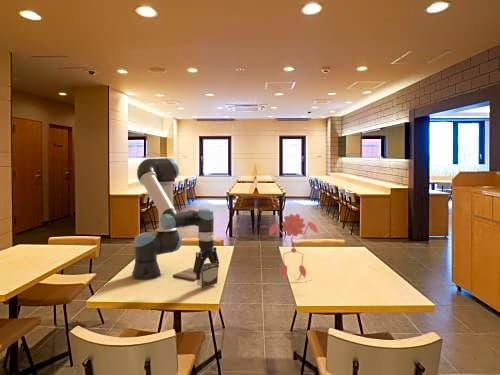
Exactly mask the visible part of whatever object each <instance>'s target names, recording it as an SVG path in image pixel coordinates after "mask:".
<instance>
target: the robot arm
mask: <svg viewBox="0 0 500 375" xmlns="http://www.w3.org/2000/svg"><path fill="white" fill-rule="evenodd" d="M177 163H178V162H176V160H175V159H173V158H169V157H167V158H166V157H164V158H163V157H162V158H161V157H160V158H159V157H158V158H147V159H146V158H145V159H144V160H142V161H141V162H140V163H139V165H138V166H137V170H136V177H137V180H138V182H139V183H140V185H141V186H143V187H144V188H145V191H146V192H147V193H148V195H149V197H150V198H151V200H152V202H153V204H154V206H155V207H156V209H157V211H158V228H156V232H154V231H149V232H147V231H146V232H142V233H139V234H137V235H136V236H135V237H134V241H133V242H134V243H133V245H134V246H133V247H134V265H133V266H134V267H133V270H132V274H131V277H132V279H135V280H150V279H154V278H158V277H159V276H161V269H160V266H159V264H158V260H157V257H158V256H159V255H164V254H169V253H170V254H171V253H173V252H177V251H178V250H180V249H181V247H182V243H183V242H182V241H183V236H182V234H181V232H180V231H178V228H185V227H194V226H195V227H198V248H199V249H200V250H199V252H195V259H194V265H193V272H194V273H196V279H197V280H196V286H197V287H198V286H199V287H201V286H202V273H201V268H202V267H203V264H205V262H206V260H207V259H208V260H209V263H217V264H219V265H220V261H219V260H220V259H219V256H218V253H217V247H215V245H214V244H215V240H214V236H215V235H214V234H215V233H214V231H215V230H214V229H215V228H214V223H215V222H214V221H215V220H214V218H215V216H214V210H213V209H212V208H205V207H203V208H199V209H198V210H194V209H188V210H186V211H182V212H181V211H180V212H178V211H177V210H176V209H175V207H174V190H173V185H174V183H176V179H177V178H178V177H179V174H180V168H179V165H178V164H177Z"/></svg>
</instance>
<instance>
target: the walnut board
mask: <svg viewBox="0 0 500 375" xmlns="http://www.w3.org/2000/svg"><path fill="white" fill-rule="evenodd" d="M193 269H194V267H190V268H187V269H185V270H182V271H180V272H176V273H174V274H172V277H173V278H176V279H181V280H184V281H186V280H187V281H192V282H197V279H196V273H194V272H193Z"/></svg>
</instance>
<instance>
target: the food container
mask: <svg viewBox="0 0 500 375" xmlns="http://www.w3.org/2000/svg"><path fill="white" fill-rule="evenodd" d="M219 268H220V263H219V264H217V263H211V262H207V263H204V264H203V267H202V268H201V273H202V286H200V287H201V288H203V289H205V288H209V287H211V286H213V285H217V284H218V279H219V278H218V277H219Z"/></svg>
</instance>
